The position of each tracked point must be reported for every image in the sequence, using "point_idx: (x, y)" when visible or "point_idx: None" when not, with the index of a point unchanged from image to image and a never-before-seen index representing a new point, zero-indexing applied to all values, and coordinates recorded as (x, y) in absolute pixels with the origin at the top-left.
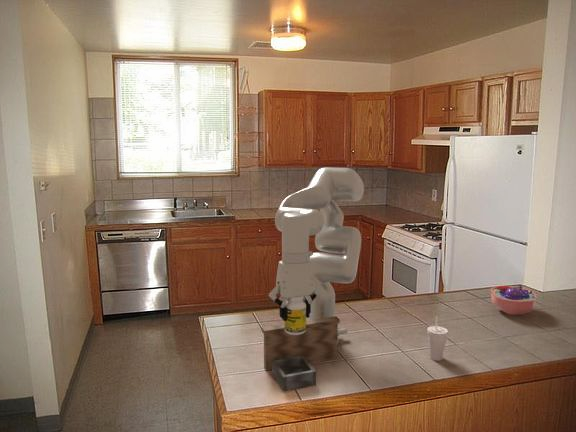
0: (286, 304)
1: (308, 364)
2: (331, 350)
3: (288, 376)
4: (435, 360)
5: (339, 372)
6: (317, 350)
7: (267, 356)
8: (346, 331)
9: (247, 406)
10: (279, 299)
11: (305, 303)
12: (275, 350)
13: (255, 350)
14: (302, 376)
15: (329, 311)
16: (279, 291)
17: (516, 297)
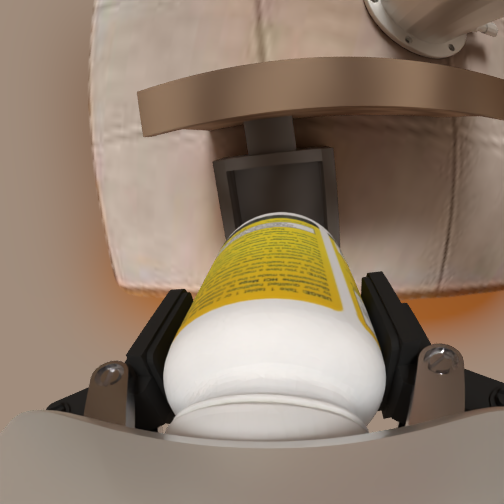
0: (174, 413)
1: (331, 214)
2: (436, 115)
3: None
4: None
5: (417, 196)
6: (394, 112)
7: (201, 128)
8: (494, 35)
9: (153, 283)
10: (90, 405)
11: (370, 420)
12: (227, 122)
13: (199, 9)
14: None
15: (500, 15)
16: (34, 417)
17: None
